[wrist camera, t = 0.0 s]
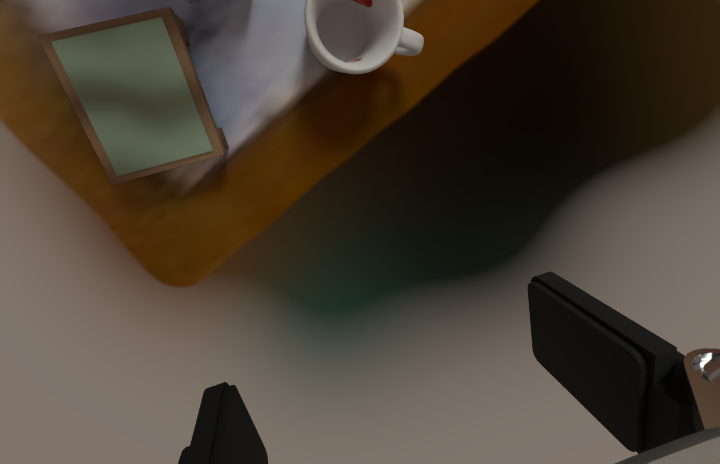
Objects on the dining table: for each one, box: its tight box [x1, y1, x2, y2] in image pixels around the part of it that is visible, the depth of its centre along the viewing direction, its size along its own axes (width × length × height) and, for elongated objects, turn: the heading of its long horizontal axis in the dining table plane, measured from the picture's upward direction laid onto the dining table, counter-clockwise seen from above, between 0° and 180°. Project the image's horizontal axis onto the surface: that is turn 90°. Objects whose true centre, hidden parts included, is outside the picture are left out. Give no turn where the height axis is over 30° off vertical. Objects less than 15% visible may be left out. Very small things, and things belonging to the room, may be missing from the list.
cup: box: [304, 0, 424, 74], centre depth 33 cm, size 11×8×8 cm
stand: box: [38, 7, 229, 185], centre depth 33 cm, size 12×10×4 cm
